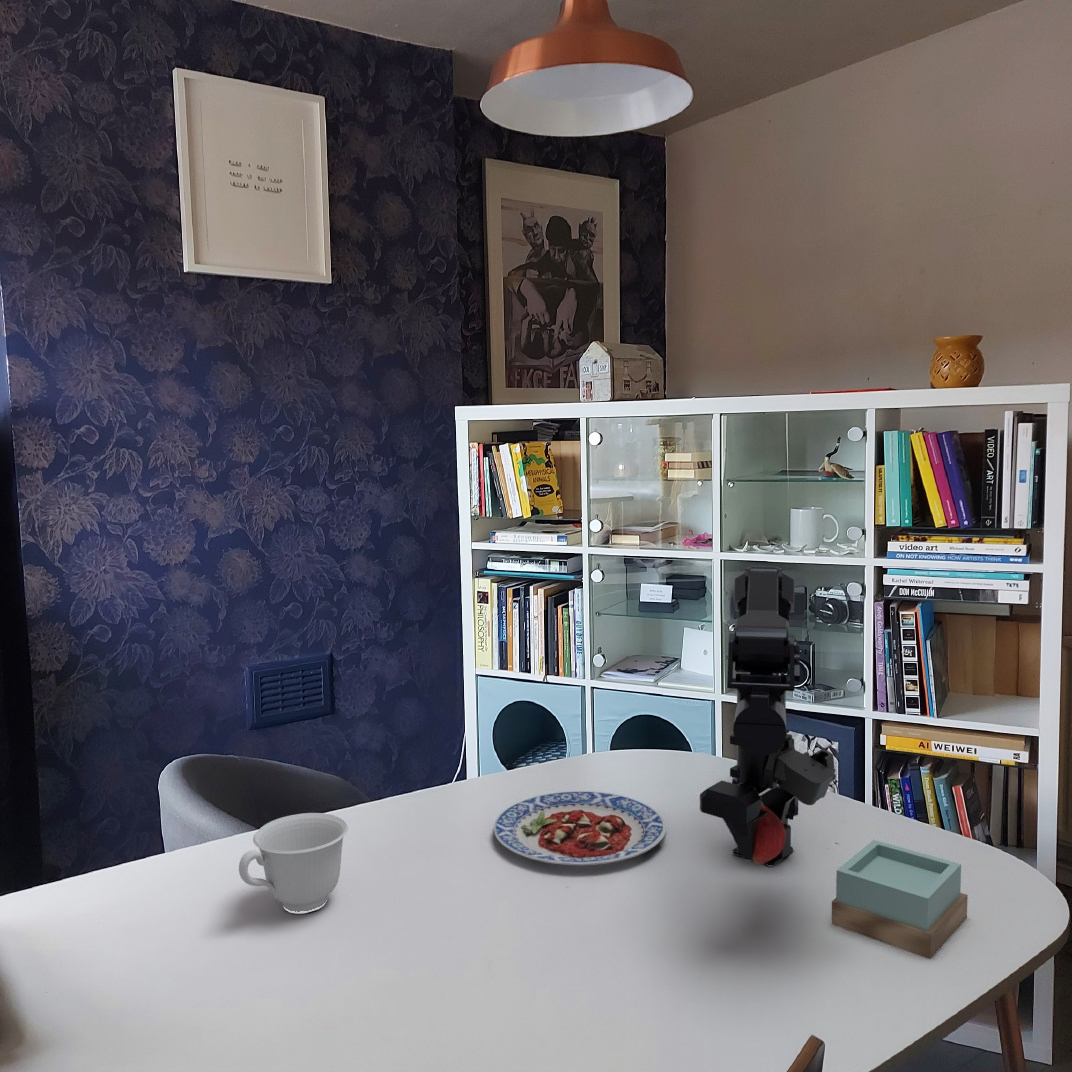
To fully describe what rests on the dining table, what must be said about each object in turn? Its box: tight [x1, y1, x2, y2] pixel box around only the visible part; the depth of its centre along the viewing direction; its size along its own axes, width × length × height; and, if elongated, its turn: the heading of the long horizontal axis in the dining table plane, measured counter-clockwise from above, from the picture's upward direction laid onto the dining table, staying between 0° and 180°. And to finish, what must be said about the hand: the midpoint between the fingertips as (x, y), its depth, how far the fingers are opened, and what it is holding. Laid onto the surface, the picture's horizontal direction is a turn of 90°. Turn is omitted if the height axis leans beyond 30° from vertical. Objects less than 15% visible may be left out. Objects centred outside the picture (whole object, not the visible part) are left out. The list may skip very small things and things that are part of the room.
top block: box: [835, 839, 962, 931], centre depth 118 cm, size 11×11×4 cm
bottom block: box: [831, 892, 969, 960], centre depth 118 cm, size 12×12×4 cm
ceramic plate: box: [493, 790, 667, 866], centre depth 144 cm, size 26×26×3 cm
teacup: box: [238, 812, 349, 912], centre depth 124 cm, size 12×15×10 cm
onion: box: [752, 802, 786, 865], centre depth 117 cm, size 6×6×8 cm
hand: (760, 850), depth 117 cm, fingers closed on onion, 6 cm apart
